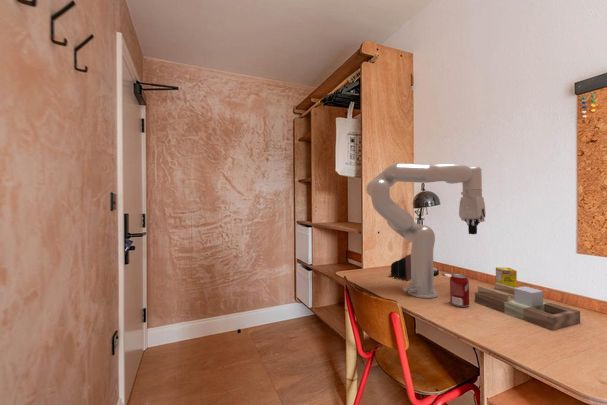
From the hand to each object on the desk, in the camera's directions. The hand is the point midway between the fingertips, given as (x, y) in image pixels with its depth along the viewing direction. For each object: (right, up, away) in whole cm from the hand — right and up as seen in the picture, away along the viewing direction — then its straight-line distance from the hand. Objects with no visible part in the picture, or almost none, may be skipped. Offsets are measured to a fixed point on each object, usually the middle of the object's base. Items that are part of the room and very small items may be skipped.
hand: (472, 233), depth 124 cm
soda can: (-14, -28, -13) cm, 34 cm away
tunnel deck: (+6, -27, -21) cm, 35 cm away
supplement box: (+15, -27, 0) cm, 31 cm away
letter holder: (-18, -28, +30) cm, 45 cm away
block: (+6, -23, -23) cm, 33 cm away
